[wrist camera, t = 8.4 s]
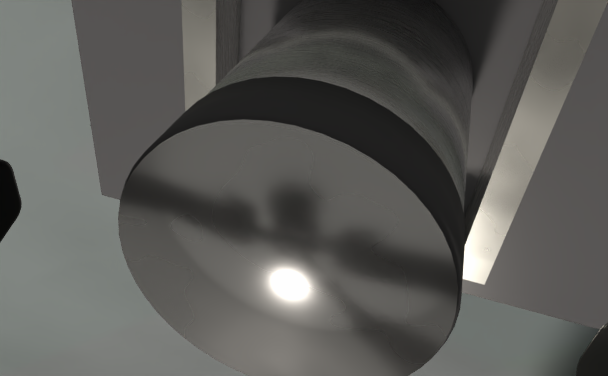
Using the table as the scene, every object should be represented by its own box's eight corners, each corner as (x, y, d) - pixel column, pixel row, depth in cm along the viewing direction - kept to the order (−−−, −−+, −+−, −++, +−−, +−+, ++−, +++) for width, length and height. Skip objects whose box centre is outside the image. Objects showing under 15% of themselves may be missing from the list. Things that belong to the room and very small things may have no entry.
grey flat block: (814, -173, 12) (1007, -157, 7) (583, 241, 19) (611, 373, 14) (131, -257, 14) (-27, -282, 10) (159, 136, 21) (74, 222, 17)
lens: (506, -2, 11) (518, 179, 6) (442, 192, 14) (412, 430, 9) (274, -45, 12) (95, 78, 7) (261, 146, 15) (130, 339, 10)
